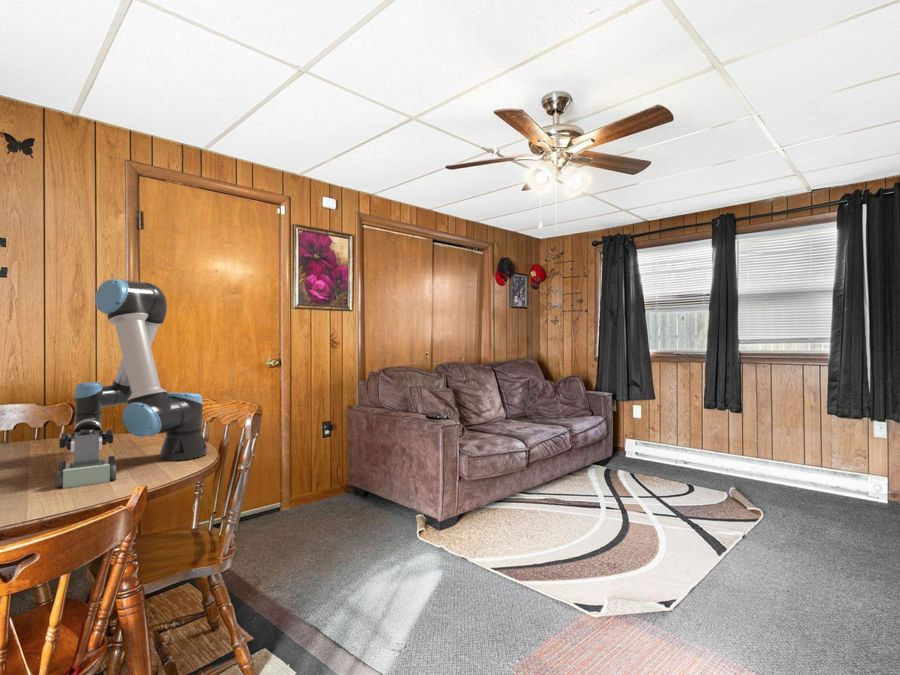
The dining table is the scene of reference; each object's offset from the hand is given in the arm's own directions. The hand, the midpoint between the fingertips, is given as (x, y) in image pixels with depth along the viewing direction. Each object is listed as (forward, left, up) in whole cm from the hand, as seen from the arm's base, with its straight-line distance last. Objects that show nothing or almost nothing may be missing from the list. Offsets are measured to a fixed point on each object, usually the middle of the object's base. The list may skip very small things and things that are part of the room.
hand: (86, 446), depth 145 cm
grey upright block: (-2, -5, -6) cm, 8 cm away
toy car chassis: (-2, -5, -11) cm, 12 cm away
